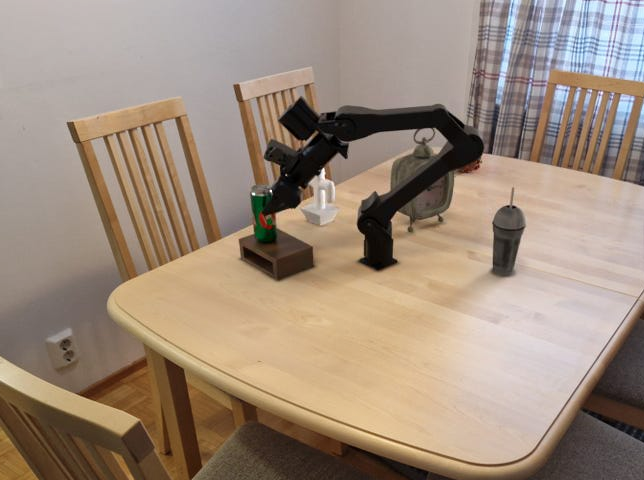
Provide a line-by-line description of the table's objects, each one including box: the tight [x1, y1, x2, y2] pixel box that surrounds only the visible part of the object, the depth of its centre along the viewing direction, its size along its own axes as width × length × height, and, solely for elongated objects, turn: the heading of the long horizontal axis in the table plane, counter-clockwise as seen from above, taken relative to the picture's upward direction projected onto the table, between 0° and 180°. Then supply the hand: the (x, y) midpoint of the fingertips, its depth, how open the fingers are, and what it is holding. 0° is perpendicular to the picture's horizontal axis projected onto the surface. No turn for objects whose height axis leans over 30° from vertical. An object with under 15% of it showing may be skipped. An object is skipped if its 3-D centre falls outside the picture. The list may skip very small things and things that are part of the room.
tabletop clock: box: [389, 128, 455, 234], centre depth 160 cm, size 14×9×25 cm, turn 131°
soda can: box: [249, 183, 278, 243], centre depth 141 cm, size 5×5×12 cm
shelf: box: [238, 227, 315, 281], centre depth 145 cm, size 14×10×5 cm
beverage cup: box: [491, 187, 527, 277], centre depth 141 cm, size 7×7×20 cm
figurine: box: [299, 167, 341, 227], centre depth 162 cm, size 7×9×15 cm
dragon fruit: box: [457, 156, 483, 173], centre depth 201 cm, size 8×8×12 cm
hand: (266, 206), depth 140 cm, fingers open, 9 cm apart
